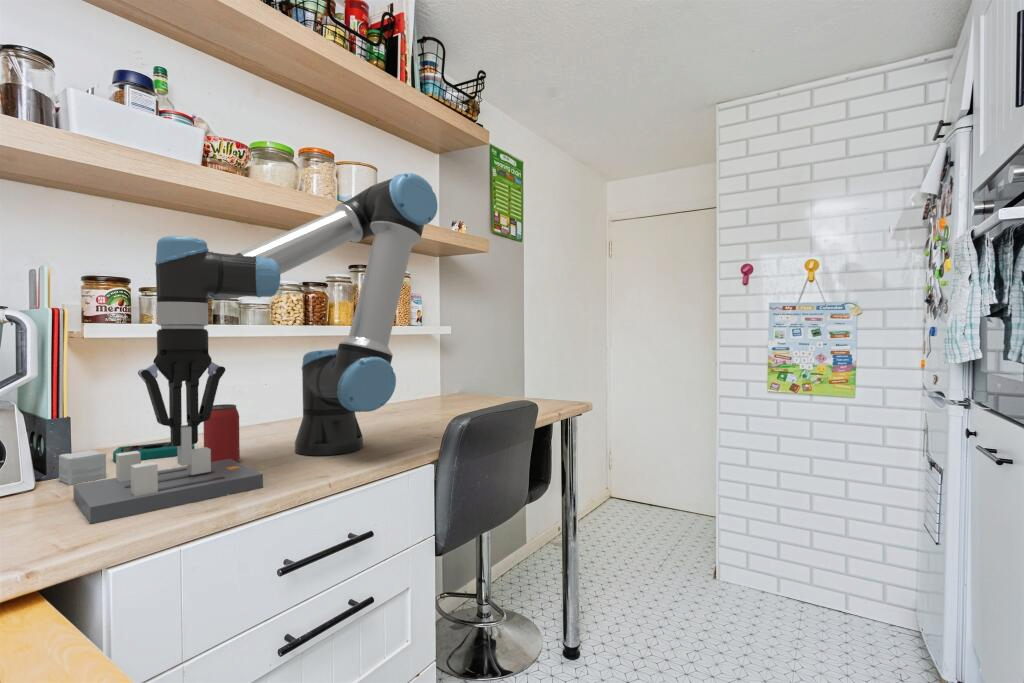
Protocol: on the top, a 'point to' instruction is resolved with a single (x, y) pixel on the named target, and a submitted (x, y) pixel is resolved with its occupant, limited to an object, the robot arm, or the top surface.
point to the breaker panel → (158, 487)
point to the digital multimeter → (150, 450)
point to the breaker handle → (200, 461)
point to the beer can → (223, 433)
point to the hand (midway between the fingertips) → (184, 463)
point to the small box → (82, 467)
